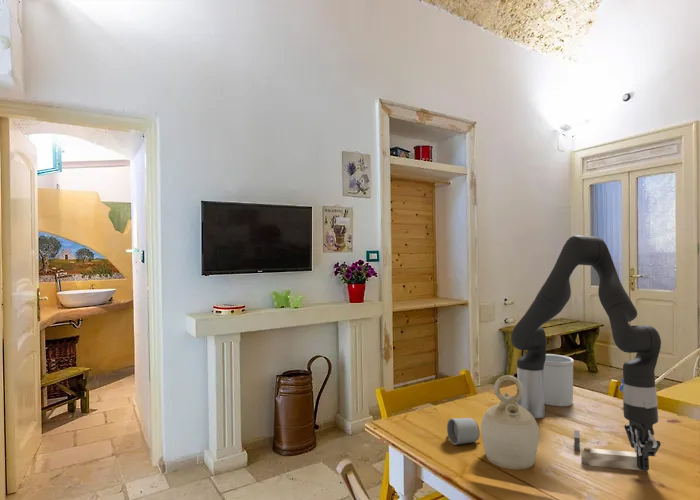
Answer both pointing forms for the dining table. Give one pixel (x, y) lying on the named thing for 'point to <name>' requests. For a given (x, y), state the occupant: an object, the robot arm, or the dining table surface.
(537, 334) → the robot arm
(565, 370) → the utensil holder
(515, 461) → the jug
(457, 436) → the ceramic mug
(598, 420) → the dining table surface
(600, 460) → the folding leg
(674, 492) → the dining table surface
